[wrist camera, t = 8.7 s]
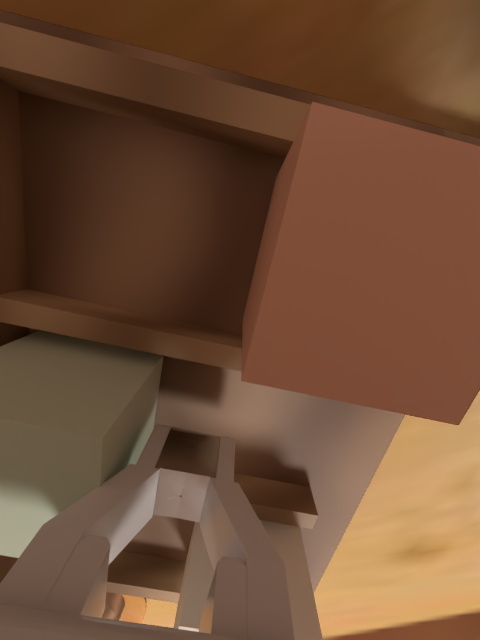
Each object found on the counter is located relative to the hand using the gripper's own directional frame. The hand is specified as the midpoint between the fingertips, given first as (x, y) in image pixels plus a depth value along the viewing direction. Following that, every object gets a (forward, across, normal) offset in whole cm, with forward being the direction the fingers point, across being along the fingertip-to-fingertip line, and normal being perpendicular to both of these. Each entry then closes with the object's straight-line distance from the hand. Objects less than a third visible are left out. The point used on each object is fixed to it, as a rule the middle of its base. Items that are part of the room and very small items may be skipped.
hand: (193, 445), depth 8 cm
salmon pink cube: (+1, -3, -7) cm, 7 cm away
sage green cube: (+1, +4, 0) cm, 4 cm away
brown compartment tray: (+3, +1, 0) cm, 3 cm away
